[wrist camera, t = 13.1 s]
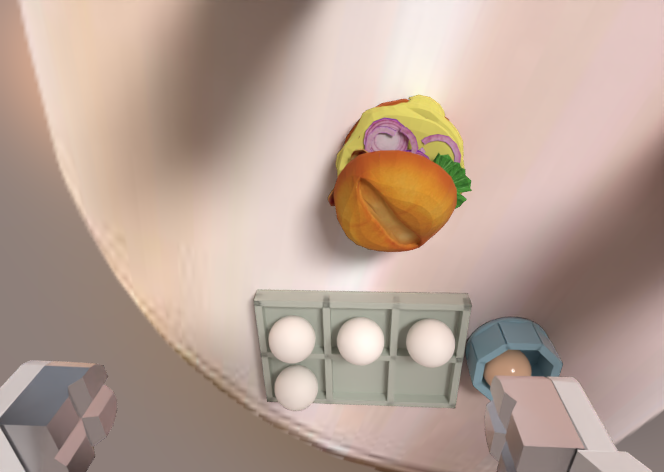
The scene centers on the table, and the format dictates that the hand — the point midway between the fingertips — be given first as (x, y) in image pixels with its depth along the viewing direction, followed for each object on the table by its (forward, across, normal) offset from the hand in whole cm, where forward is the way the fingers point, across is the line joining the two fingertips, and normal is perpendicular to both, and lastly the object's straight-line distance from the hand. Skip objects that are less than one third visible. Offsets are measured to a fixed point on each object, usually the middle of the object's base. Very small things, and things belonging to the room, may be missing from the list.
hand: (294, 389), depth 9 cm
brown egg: (+28, -17, +25) cm, 42 cm away
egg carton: (+29, -2, +26) cm, 39 cm away
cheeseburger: (+29, -4, +5) cm, 30 cm away
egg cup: (+29, -17, +25) cm, 42 cm away
